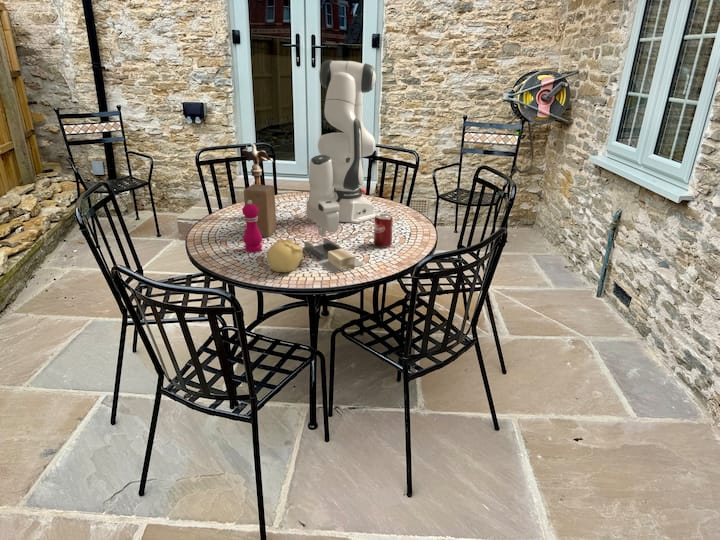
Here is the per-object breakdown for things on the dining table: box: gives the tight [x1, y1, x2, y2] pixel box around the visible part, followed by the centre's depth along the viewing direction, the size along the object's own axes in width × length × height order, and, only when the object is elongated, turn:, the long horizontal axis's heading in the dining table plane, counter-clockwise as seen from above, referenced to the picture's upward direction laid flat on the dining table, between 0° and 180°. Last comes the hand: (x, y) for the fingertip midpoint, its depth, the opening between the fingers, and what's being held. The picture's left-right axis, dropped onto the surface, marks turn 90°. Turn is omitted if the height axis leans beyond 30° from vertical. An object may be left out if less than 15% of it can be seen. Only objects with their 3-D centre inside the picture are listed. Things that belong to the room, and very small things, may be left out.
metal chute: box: [303, 237, 344, 261], centre depth 185 cm, size 10×14×3 cm
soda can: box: [373, 213, 394, 248], centre depth 193 cm, size 7×7×12 cm
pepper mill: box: [242, 200, 263, 253], centre depth 184 cm, size 7×7×20 cm
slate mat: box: [316, 258, 364, 274], centre depth 176 cm, size 14×10×1 cm
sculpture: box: [266, 239, 304, 273], centre depth 170 cm, size 12×12×11 cm
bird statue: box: [241, 142, 275, 185], centre depth 220 cm, size 17×13×35 cm
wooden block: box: [243, 183, 278, 238], centre depth 201 cm, size 10×10×20 cm
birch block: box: [327, 248, 356, 271], centre depth 174 cm, size 6×9×4 cm, turn 32°
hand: (321, 235), depth 184 cm, fingers closed
